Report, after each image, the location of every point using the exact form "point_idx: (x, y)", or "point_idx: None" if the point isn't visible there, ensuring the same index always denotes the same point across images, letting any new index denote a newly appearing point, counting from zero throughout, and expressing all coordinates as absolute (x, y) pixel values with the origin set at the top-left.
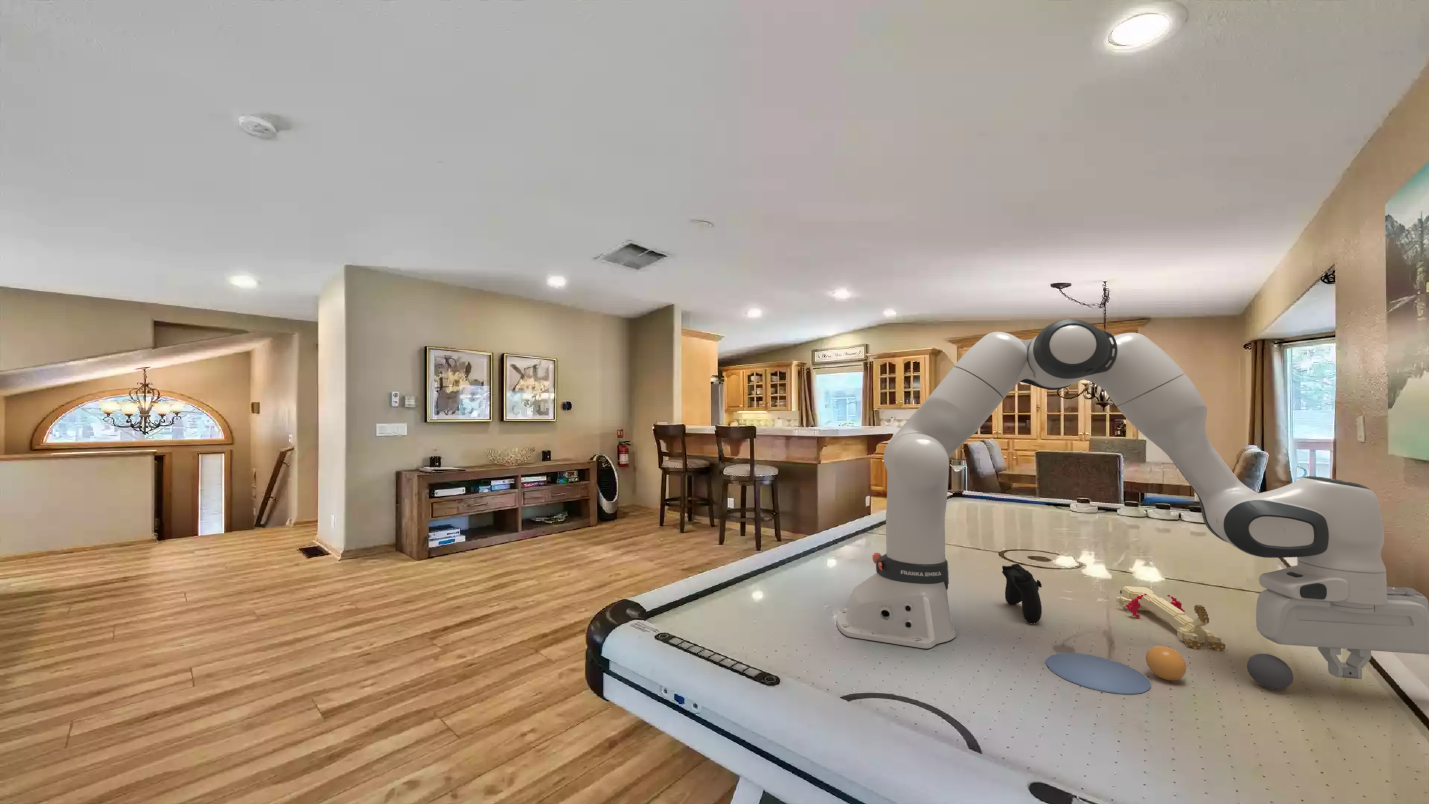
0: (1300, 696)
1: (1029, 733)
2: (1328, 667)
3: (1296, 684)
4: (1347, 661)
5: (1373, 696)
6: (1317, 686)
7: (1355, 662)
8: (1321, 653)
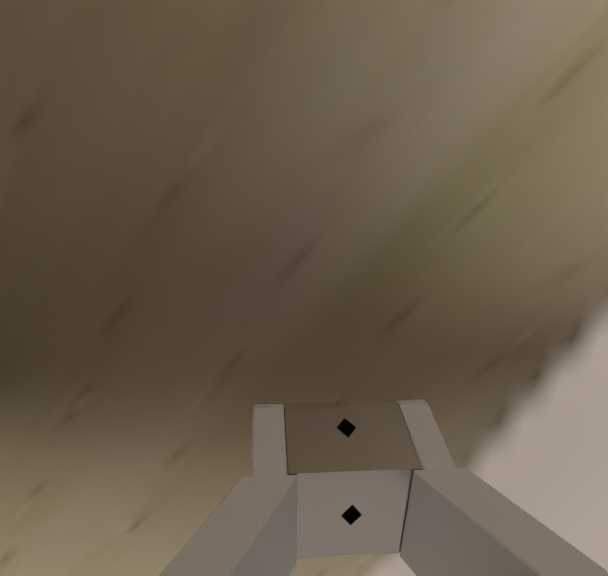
0: (5, 433)
1: None
2: (252, 434)
3: (88, 262)
4: (426, 489)
5: (474, 339)
6: (224, 264)
7: (432, 565)
8: (183, 554)
